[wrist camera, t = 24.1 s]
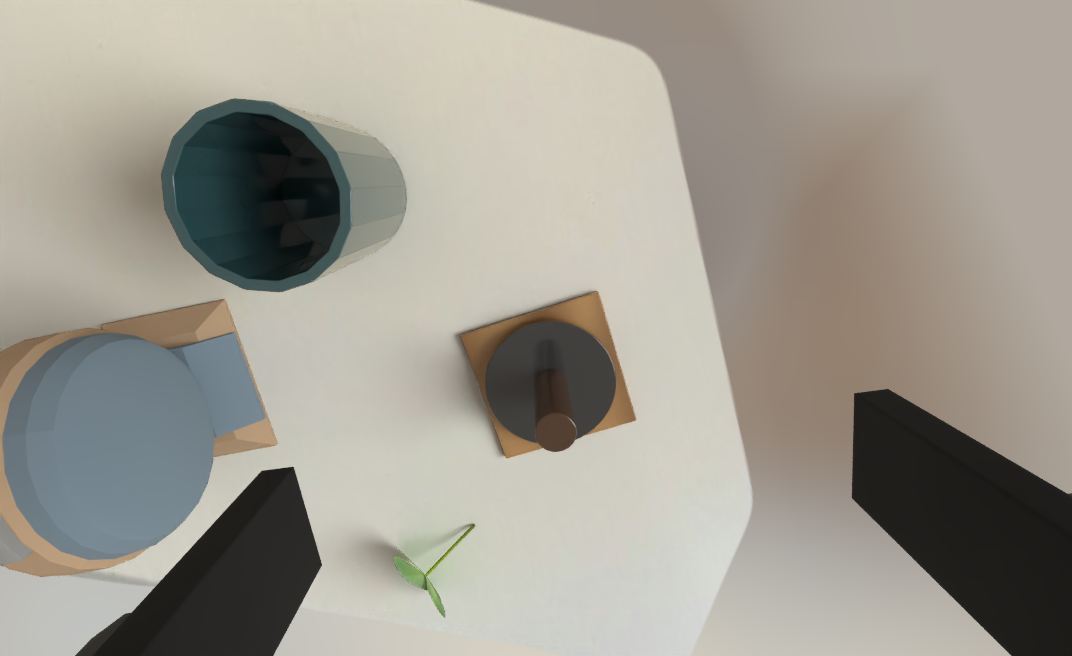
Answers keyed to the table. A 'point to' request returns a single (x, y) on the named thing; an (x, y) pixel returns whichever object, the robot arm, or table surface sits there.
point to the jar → (279, 194)
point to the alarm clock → (118, 435)
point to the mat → (574, 311)
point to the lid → (550, 383)
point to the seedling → (420, 578)
